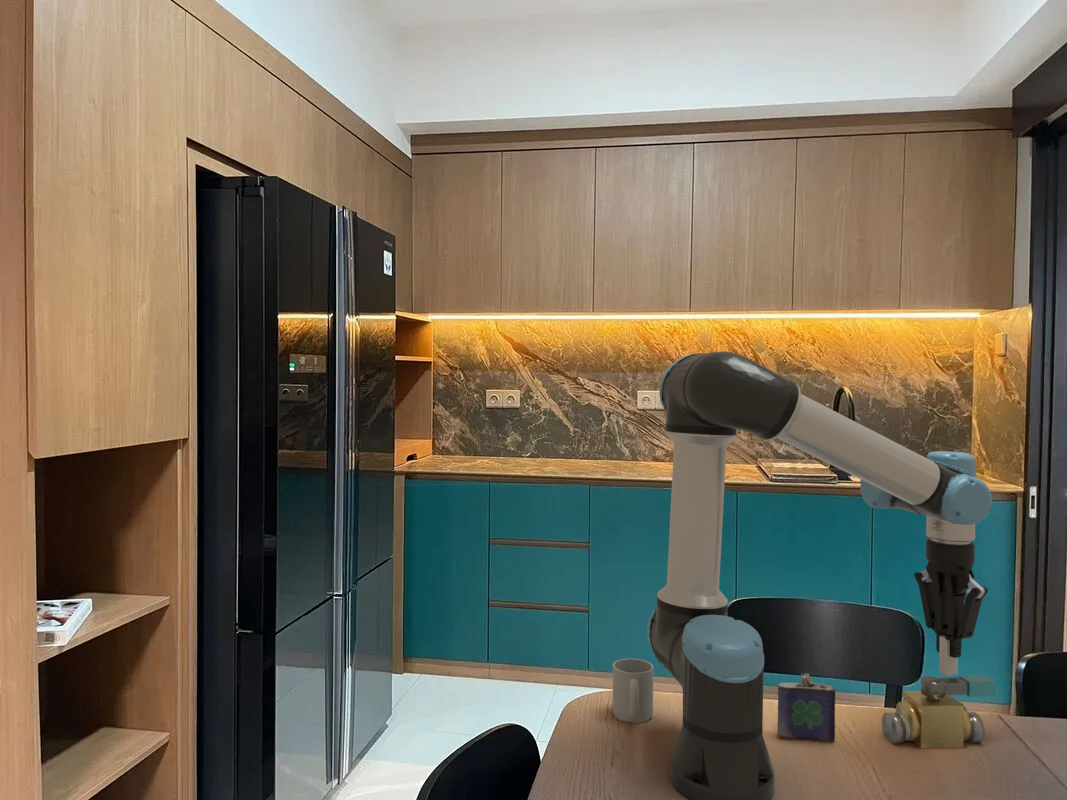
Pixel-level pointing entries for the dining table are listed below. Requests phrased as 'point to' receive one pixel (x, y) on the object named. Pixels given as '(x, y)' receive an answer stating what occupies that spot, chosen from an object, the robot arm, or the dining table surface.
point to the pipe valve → (932, 722)
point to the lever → (958, 686)
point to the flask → (806, 711)
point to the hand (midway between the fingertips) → (948, 673)
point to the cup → (633, 690)
